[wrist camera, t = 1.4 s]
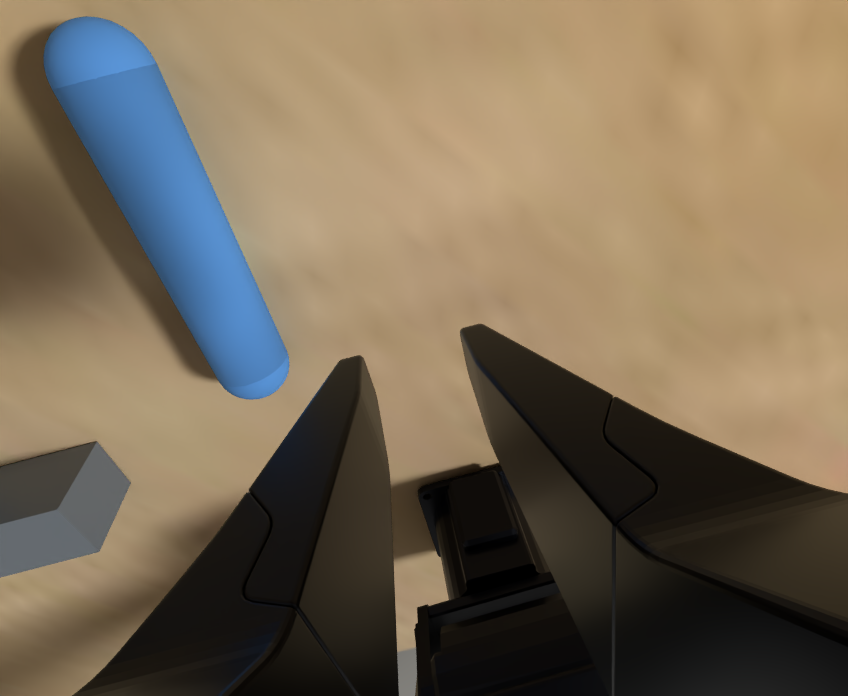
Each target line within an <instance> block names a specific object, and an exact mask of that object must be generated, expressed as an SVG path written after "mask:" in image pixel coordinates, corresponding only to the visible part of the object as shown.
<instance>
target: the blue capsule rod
mask: <svg viewBox="0 0 848 696" xmlns="http://www.w3.org/2000/svg"><path fill="white" fill-rule="evenodd" d="M44 69H45V73H46V77H47V80H48V82H49V84H50V86H51V88H52V90H53V92H54V94H55V96H56V97H57V99H58V101H59V103H60V104H61V106H62V108H63V110H64V111H65V113H66V115H67V117H68V118H69V120H70V122H71V124H72V125H73V127H74V129H75V131H76V132H77V134H78V136H79V138H80V139H81V141H82V143H83V145H84V146H85V148H86V150H87V152H88V153H89V155H90V157H91V159H92V160H93V162H94V164H95V166H96V167H97V169H98V171H99V173H100V174H101V176H102V178H103V180H104V181H105V183H106V185H107V187H108V188H109V190H110V192H111V194H112V195H113V197H114V199H115V201H116V202H117V204H118V206H119V208H120V209H121V211H122V213H123V215H124V216H125V218H126V220H127V222H128V223H129V225H130V227H131V229H132V230H133V232H134V234H135V235H136V237H137V239H138V241H139V242H140V244H141V246H142V248H143V249H144V251H145V253H146V255H147V256H148V258H149V260H150V262H151V263H152V265H153V267H154V269H155V270H156V272H157V274H158V276H159V277H160V279H161V281H162V283H163V284H164V286H165V288H166V290H167V291H168V293H169V295H170V297H171V298H172V300H173V302H174V304H175V305H176V307H177V309H178V311H179V312H180V314H181V316H182V318H183V319H184V321H185V323H186V325H187V326H188V328H189V330H190V332H191V333H192V335H193V337H194V339H195V340H196V342H197V344H198V346H199V347H200V349H201V351H202V353H203V354H204V356H205V358H206V360H207V361H208V363H209V365H210V367H211V368H212V370H213V372H214V374H215V375H216V377H217V379H218V381H219V382H220V383H221V385H222V386H223V387H224V389H226V390H227V391H228V392H229V393H231V394H232V395H234V396H236V397H239V398H243V399H260V398H264V397H267V396H269V395H271V394H272V393H274V392H275V391H276V390H278V389H279V388H280V386H281V385H282V384H283V383H284V381H285V379H286V377H287V374H288V371H289V356H288V353H287V350H286V348H285V346H284V344H283V341H282V339H281V337H280V335H279V333H278V330H277V328H276V326H275V324H274V321H273V319H272V317H271V315H270V313H269V310H268V308H267V306H266V304H265V302H264V299H263V297H262V295H261V293H260V291H259V288H258V286H257V284H256V282H255V280H254V277H253V275H252V273H251V271H250V268H249V266H248V264H247V262H246V260H245V257H244V255H243V253H242V251H241V249H240V246H239V244H238V242H237V240H236V238H235V235H234V233H233V231H232V229H231V227H230V224H229V222H228V220H227V218H226V216H225V213H224V211H223V209H222V207H221V204H220V202H219V200H218V198H217V196H216V193H215V191H214V189H213V187H212V185H211V182H210V180H209V178H208V176H207V174H206V171H205V169H204V167H203V165H202V163H201V160H200V158H199V156H198V154H197V152H196V149H195V147H194V145H193V143H192V140H191V138H190V136H189V134H188V132H187V129H186V127H185V125H184V123H183V121H182V118H181V116H180V114H179V112H178V110H177V107H176V105H175V103H174V101H173V99H172V96H171V94H170V92H169V90H168V87H167V85H166V83H165V81H164V79H163V76H162V74H161V72H160V70H159V68H158V65H157V63H156V62H155V60H154V58H153V56H152V55H151V53H150V52H149V50H148V49H147V48H146V46H145V45H144V44H143V43H142V42H141V41H140V40H139V39H138V38H137V37H136V36H135V35H134V34H133V33H131V32H130V31H128V30H127V29H125V28H124V27H122V26H120V25H118V24H116V23H114V22H112V21H109V20H106V19H102V18H97V17H79V18H74V19H70V20H67V21H66V22H64V23H62V24H61V25H59V26H58V27H57V28H56V29H55V30H54V31H53V32H52V33H51V34H50V36H49V38H48V40H47V43H46V45H45V51H44Z"/></svg>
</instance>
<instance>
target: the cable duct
mask: <svg viewBox="0 0 848 696" xmlns="http://www.w3.org/2000/svg"><path fill="white" fill-rule="evenodd" d="M130 484H131V482H130V481H129V480H128V479H127V478H126V476H125V475H124V474H123V473H122V471H121V470H120V469H119V468H118V467H117V465H116V464H115V463H114V462H113V460H112V459H111V458H110V457H109V456H108V454H107V453H106V452H105V451H104V450H103V448H102V447H101V446H100V445H99V443H98V442H94V443H90V444H86V445H82V446H78V447H74V448H71V449H67V450H63V451H59V452H55V453H51V454H48V455H44V456H40V457H36V458H32V459H28V460H24V461H21V462H17V463H13V464H9V465H5V466H1V467H0V577H4V576H8V575H12V574H16V573H19V572H23V571H27V570H31V569H35V568H39V567H42V566H46V565H50V564H54V563H58V562H62V561H66V560H69V559H73V558H77V557H81V556H85V555H89V554H93V553H96V552H99V551H100V549H101V547H102V545H103V542H104V540H105V538H106V536H107V534H108V532H109V529H110V527H111V525H112V523H113V521H114V518H115V516H116V514H117V512H118V510H119V508H120V505H121V503H122V501H123V499H124V497H125V494H126V492H127V490H128V488H129V486H130Z"/></svg>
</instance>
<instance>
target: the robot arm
mask: <svg viewBox="0 0 848 696" xmlns="http://www.w3.org/2000/svg"><path fill="white" fill-rule="evenodd" d="M460 337H461V342H462V347H463V351H464V356H465V361H466V366H467V370H468V374H469V377H470V380H471V384H472V387H473V390H474V393H475V396H476V399H477V403H478V406H479V409H480V412H481V415H482V418H483V422H484V425H485V428H486V431H487V434H488V437H489V440H490V443H491V445H492V447H493V450H494V452H495V454H496V457H497V459H498V461H499V463H500V465H501V466H498V467H494V468H491V469H487V470H483V471H479V472H475V473H471V474H468V475H464V476H460V477H456V478H452V479H448V480H444V481H441V482H437V483H433V484H429V485H425V486H422V487H421V488H419V490H418V497H419V501H420V504H421V507H422V510H423V513H424V516H425V519H426V522H427V525H428V528H429V531H430V534H431V537H432V540H433V543H434V545H435V548H436V551H437V554H438V556H439V557H441V560H442V565H443V571H444V576H445V581H446V587H447V592H448V597H449V600H448V601H445V602H441V603H438V604H434V605H431V606H428V604H427V605H424V606H420V607H418V608H417V613H418V623H417V624H416V628H415V629H414V631H415V640H416V653H417V683H416V693H415V696H848V493H842V492H838V491H833V490H829V489H825V488H822V487H819V486H816V485H812V484H809V483H807V482H804V481H801V480H799V479H796V478H794V477H791V476H789V475H786V474H784V473H782V472H779V471H777V470H775V469H772V468H770V467H767V466H765V465H763V464H760V463H758V462H756V461H753V460H751V459H749V458H746V457H744V456H742V455H739V454H737V453H735V452H732V451H730V450H728V449H725V448H723V447H720V446H718V445H716V444H713V443H711V442H709V441H706V440H704V439H702V438H699V437H697V436H695V435H693V434H690V433H688V432H686V431H684V430H682V429H679V428H677V427H675V426H673V425H671V424H668V423H666V422H664V421H662V420H660V419H658V418H656V417H654V416H652V415H650V414H648V413H646V412H644V411H642V410H640V409H638V408H636V407H634V406H633V405H631V404H629V403H627V402H625V401H623V400H622V399H620V398H618V397H614V398H613V395H612V394H610V393H608V392H607V391H605V390H603V389H601V388H599V387H597V386H595V385H594V384H592V383H590V382H588V381H586V380H584V379H583V378H581V377H579V376H577V375H575V374H573V373H572V372H570V371H568V370H566V369H564V368H562V367H561V366H559V365H557V364H555V363H553V362H551V361H550V360H548V359H546V358H544V357H542V356H540V355H539V354H537V353H535V352H533V351H531V350H529V349H528V348H526V347H524V346H522V345H520V344H518V343H516V342H515V341H513V340H511V339H509V338H507V337H505V336H504V335H502V334H500V333H498V332H496V331H494V330H493V329H491V328H489V327H487V326H485V325H483V324H476V325H472V326H469V327H465V328H462V329H461V330H460ZM249 492H250V493H249ZM249 492H248V493H246V494H245V495H244V497H243V498H242V499H241V501H240V502H239V504H238V505H237V507H236V508H235V509H234V511H233V512H232V513H231V515H230V516H229V518H228V519H227V520H226V522H225V523H224V524H223V526H222V527H221V528H220V530H219V531H218V532H217V534H216V535H215V536H214V538H213V539H212V540H211V542H210V543H209V544H208V545H207V546H206V548H205V549H204V550H203V551H202V553H201V554H200V555H199V556H198V558H197V559H196V560H195V561H194V563H193V564H192V565H191V566H190V567H189V569H188V570H187V571H186V572H185V574H184V575H183V576H182V577H181V578H180V580H179V581H178V582H177V583H176V584H175V585H174V587H173V588H172V589H171V590H170V591H169V593H168V594H167V595H166V596H165V597H164V599H163V600H162V601H161V602H160V603H159V604H158V606H157V607H156V608H155V609H154V610H153V612H152V613H151V614H150V615H149V616H148V618H147V619H146V620H145V621H144V622H143V623H142V625H141V626H140V627H139V628H138V629H137V631H136V632H135V633H134V634H133V635H132V637H131V638H130V639H129V640H128V641H127V642H126V644H125V645H124V646H123V647H122V648H121V650H120V651H119V652H118V653H117V654H116V655H115V656H114V658H113V659H112V660H111V661H110V662H109V663H108V664H107V665H106V666H105V667H104V668H103V669H102V670H101V671H100V672H99V673H98V674H97V675H96V676H95V677H94V678H93V679H92V680H91V681H90V682H88V683H87V684H86V685H85V686H84V687H82V688H81V689H80V690H79V691H78V692H76V693H75V694H74V695H72V696H399V691H398V664H397V639H396V613H395V588H394V563H393V538H392V512H391V487H390V472H389V464H388V457H387V451H386V446H385V440H384V434H383V428H382V423H381V417H380V411H379V406H378V400H377V396H376V392H375V389H374V386H373V383H372V380H371V377H370V375H369V372H368V369H367V366H366V363H365V361H364V358H363V357H362V356H360V355H358V356H354V357H350V358H346V359H342V360H340V361H339V362H338V363H337V365H336V366H335V368H334V369H333V371H332V372H331V373H330V375H329V376H328V378H327V379H326V380H325V382H324V383H323V385H322V386H321V388H320V389H319V390H318V392H317V393H316V395H315V396H314V398H313V399H312V400H311V402H310V403H309V405H308V406H307V407H306V409H305V410H304V412H303V413H302V415H301V416H300V417H299V419H298V420H297V422H296V423H295V424H294V426H293V427H292V429H291V430H290V432H289V433H288V434H287V436H286V437H285V439H284V440H283V442H282V443H281V444H280V446H279V447H278V449H277V450H276V451H275V453H274V454H273V456H272V457H271V459H270V460H269V461H268V463H267V464H266V466H265V467H264V468H263V470H262V471H261V473H260V474H259V476H258V477H257V478H256V480H255V481H254V483H253V484H252V486H251V487H250V488H249Z"/></svg>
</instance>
